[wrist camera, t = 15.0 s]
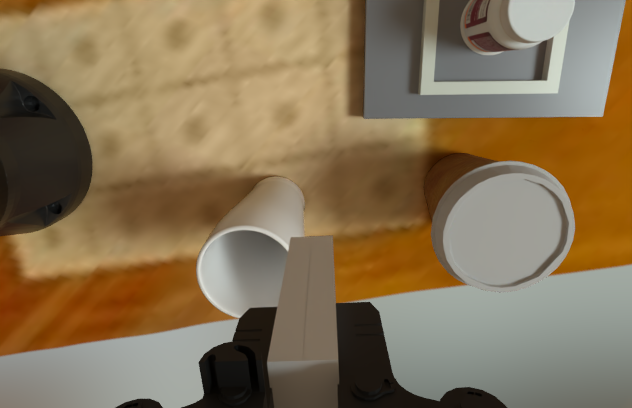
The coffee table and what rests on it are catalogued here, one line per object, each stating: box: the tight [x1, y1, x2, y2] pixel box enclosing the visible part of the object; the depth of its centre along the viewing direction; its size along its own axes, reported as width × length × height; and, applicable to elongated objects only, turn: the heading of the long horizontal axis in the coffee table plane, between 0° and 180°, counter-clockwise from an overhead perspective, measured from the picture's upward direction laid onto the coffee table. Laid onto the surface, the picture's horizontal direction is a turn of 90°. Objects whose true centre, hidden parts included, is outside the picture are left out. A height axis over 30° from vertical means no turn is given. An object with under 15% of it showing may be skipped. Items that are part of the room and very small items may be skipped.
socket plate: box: [363, 0, 626, 119], centre depth 34 cm, size 20×15×2 cm
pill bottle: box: [463, 0, 575, 52], centre depth 29 cm, size 5×5×8 cm
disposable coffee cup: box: [424, 153, 575, 292], centre depth 34 cm, size 10×10×12 cm
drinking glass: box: [196, 176, 305, 318], centre depth 33 cm, size 7×7×15 cm
